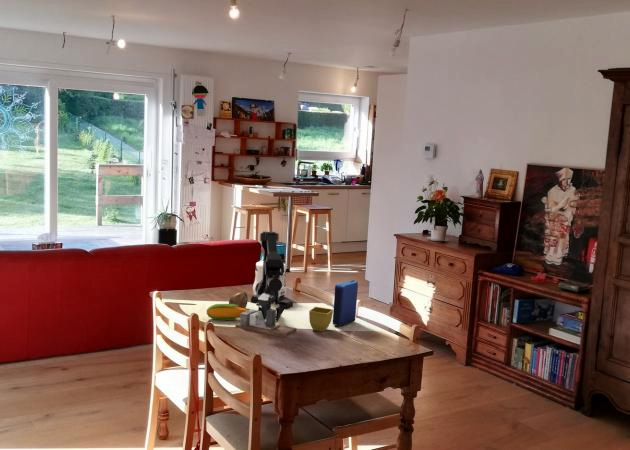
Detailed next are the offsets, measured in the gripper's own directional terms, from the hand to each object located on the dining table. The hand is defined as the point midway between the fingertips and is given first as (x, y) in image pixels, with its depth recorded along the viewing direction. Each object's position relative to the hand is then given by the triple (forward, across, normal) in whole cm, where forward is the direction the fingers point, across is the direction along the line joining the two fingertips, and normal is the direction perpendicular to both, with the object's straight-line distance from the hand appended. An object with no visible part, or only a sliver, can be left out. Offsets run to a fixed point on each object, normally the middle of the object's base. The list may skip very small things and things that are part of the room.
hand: (270, 320), depth 302 cm
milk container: (+4, -30, +48) cm, 56 cm away
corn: (+4, -24, +2) cm, 24 cm away
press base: (+4, -3, 0) cm, 5 cm away
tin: (+4, -29, +17) cm, 34 cm away
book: (+4, +22, +29) cm, 37 cm away
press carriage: (+3, -3, 0) cm, 4 cm away
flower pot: (+4, +17, +14) cm, 23 cm away
